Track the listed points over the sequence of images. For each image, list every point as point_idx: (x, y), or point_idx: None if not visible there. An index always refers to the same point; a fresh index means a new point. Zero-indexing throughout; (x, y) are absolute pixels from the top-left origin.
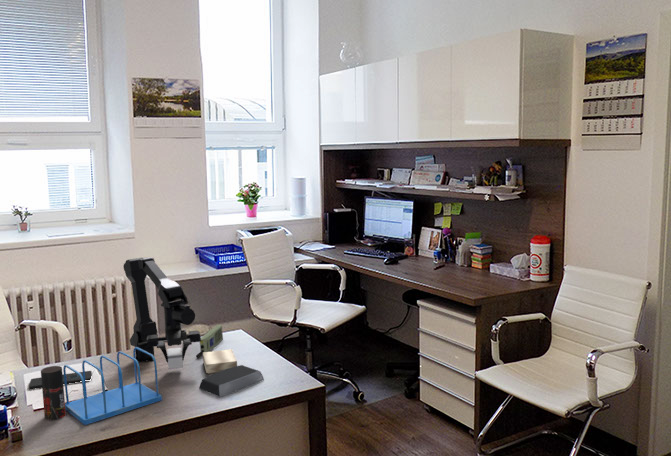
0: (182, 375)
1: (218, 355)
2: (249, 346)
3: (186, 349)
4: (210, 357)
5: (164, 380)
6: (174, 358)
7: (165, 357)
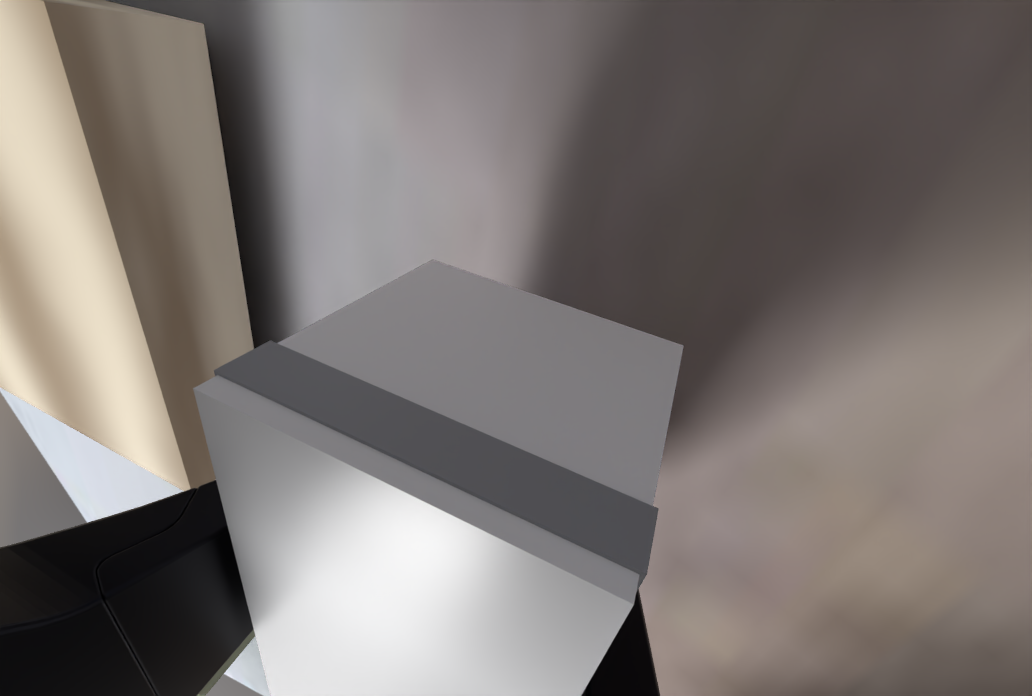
0: (505, 232)
1: (31, 308)
2: (71, 459)
3: (95, 522)
4: (85, 303)
5: (838, 184)
6: (468, 416)
7: (640, 647)
